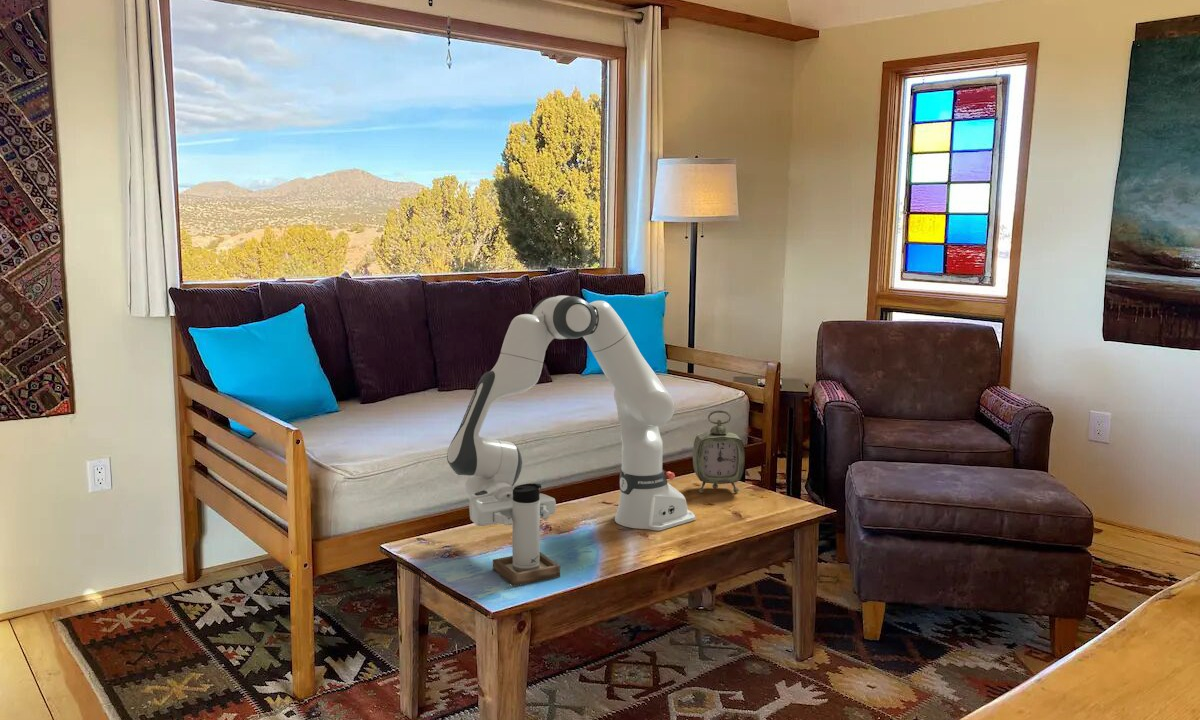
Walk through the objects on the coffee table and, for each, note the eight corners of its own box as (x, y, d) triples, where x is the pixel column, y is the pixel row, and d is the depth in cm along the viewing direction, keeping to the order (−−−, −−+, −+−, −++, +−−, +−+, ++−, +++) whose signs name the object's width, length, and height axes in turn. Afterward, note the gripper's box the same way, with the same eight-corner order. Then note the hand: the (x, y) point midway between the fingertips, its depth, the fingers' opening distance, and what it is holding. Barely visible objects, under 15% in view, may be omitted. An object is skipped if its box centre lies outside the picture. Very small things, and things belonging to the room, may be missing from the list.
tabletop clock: (695, 495, 278) (698, 413, 275) (690, 486, 287) (692, 407, 283) (743, 494, 280) (746, 413, 276) (736, 486, 288) (739, 407, 285)
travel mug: (540, 573, 213) (541, 489, 210) (511, 573, 213) (511, 489, 210) (541, 563, 219) (541, 481, 216) (513, 563, 219) (513, 481, 216)
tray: (538, 561, 224) (538, 550, 223) (560, 576, 214) (560, 566, 214) (492, 570, 218) (492, 559, 217) (512, 586, 208) (512, 575, 208)
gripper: (541, 508, 231) (567, 524, 219) (464, 521, 220) (487, 539, 209) (541, 483, 230) (567, 498, 218) (463, 495, 219) (487, 511, 208)
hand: (528, 518), depth 213 cm, fingers open, 8 cm apart
